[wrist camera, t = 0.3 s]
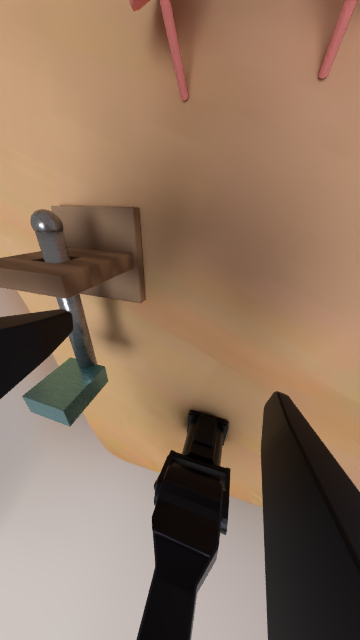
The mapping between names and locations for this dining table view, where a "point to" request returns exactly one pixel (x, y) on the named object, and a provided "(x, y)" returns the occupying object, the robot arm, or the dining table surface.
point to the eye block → (86, 257)
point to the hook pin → (75, 374)
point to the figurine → (137, 3)
